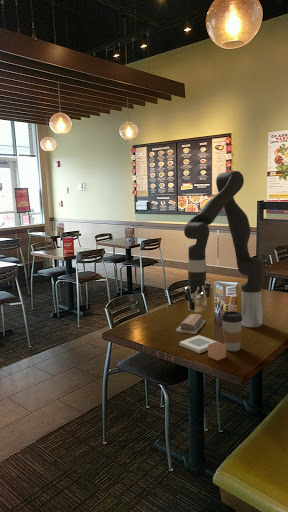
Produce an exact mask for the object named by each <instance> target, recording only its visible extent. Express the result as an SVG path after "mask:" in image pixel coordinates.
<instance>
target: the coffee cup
mask: <svg viewBox="0 0 288 512" xmlns="http://www.w3.org/2000/svg"><path fill="white" fill-rule="evenodd" d="M221 321H222V334H223V335H222V336H223V342H224V343H223V344H224V345H226V351H229V352H238V351H240V349H241V343H242V331H243V329H242V328H243V325H242V312H238V311H234V310H233V311H224V312H223V313H222V316H221Z"/></svg>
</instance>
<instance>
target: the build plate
mask: <svg viewBox="0 0 288 512" xmlns="http://www.w3.org/2000/svg"><path fill="white" fill-rule="evenodd" d="M214 342H218V341H216V340H213V339H211V338H209V337H206V336H202V335H200V334H198V335H195V336H192V337H189V338H187V339H184V340H181V341H179V342H178V343H179V346H180V347H182V348H185V349H186V350H190V351H193V352H194V353H197V354H201V353H204V352H206V351H207V352H208V345H209V344H212V343H214Z"/></svg>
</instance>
